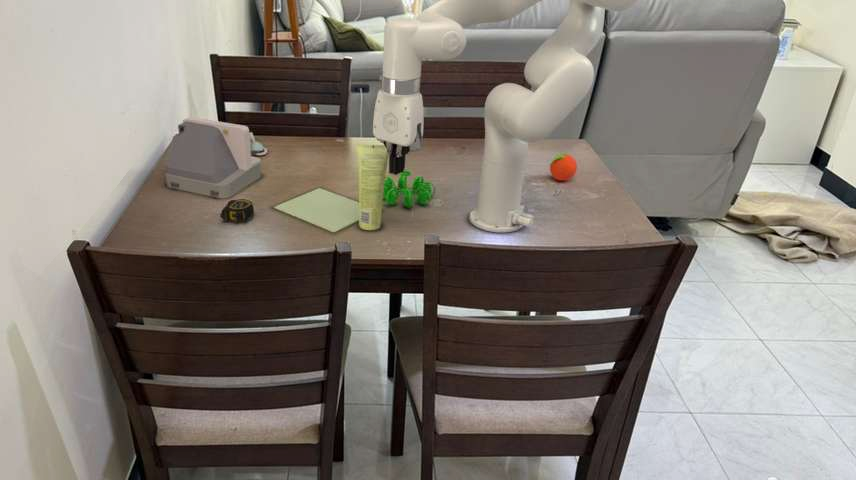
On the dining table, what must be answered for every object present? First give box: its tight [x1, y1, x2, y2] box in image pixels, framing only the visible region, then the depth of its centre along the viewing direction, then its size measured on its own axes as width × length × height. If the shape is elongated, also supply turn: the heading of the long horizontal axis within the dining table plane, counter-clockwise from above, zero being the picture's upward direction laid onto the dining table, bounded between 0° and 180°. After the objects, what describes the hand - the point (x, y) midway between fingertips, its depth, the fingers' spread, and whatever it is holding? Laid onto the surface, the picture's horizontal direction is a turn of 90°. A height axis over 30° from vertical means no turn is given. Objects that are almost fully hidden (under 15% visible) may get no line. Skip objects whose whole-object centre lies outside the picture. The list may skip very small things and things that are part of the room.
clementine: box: [549, 153, 578, 181], centre depth 178 cm, size 8×7×7 cm
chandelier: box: [383, 170, 436, 209], centre depth 167 cm, size 15×15×7 cm
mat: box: [273, 187, 359, 233], centre depth 162 cm, size 20×16×1 cm
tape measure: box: [219, 198, 255, 222], centre depth 157 cm, size 7×7×4 cm
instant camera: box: [165, 116, 262, 199], centre depth 173 cm, size 21×21×15 cm
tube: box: [355, 143, 389, 231], centre depth 150 cm, size 6×5×20 cm
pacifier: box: [249, 131, 268, 157], centre depth 194 cm, size 7×6×6 cm
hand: (396, 172), depth 143 cm, fingers closed
